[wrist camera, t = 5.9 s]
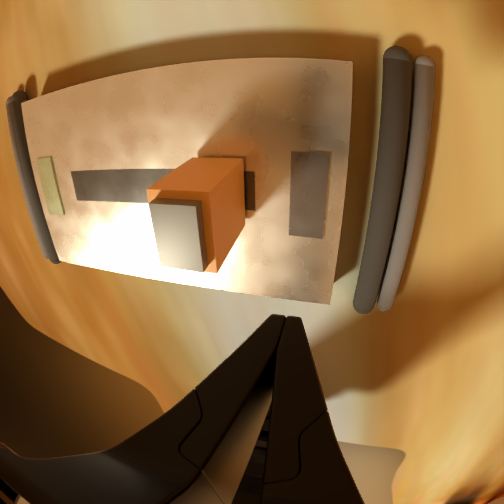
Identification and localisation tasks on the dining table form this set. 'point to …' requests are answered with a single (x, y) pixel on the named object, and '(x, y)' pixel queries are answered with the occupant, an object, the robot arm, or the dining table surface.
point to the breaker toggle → (198, 213)
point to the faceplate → (201, 146)
